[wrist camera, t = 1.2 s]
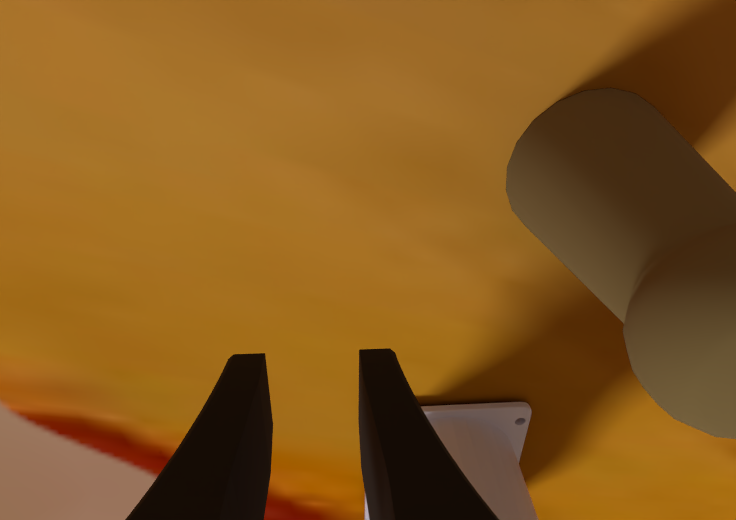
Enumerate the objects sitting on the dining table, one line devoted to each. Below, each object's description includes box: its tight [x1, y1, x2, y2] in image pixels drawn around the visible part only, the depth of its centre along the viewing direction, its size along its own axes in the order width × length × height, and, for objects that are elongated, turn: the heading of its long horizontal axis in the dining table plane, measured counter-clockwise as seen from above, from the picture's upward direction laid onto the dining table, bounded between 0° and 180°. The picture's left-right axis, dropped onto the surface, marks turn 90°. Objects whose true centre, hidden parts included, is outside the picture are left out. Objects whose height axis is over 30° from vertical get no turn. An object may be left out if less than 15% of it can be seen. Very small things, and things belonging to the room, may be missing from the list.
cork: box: [506, 88, 736, 439], centre depth 16 cm, size 6×6×11 cm
